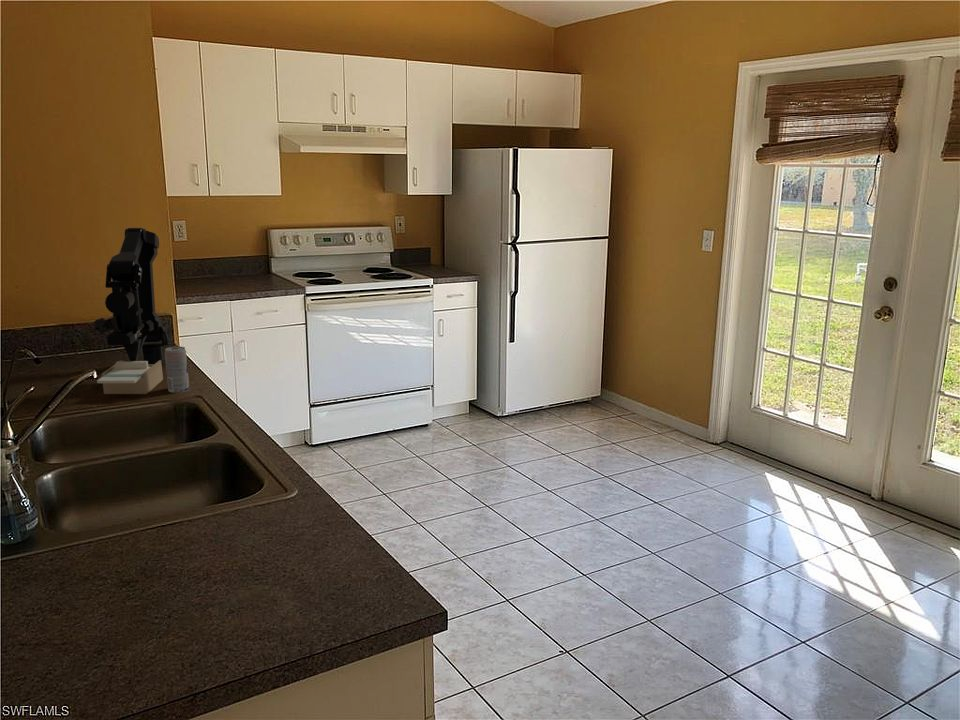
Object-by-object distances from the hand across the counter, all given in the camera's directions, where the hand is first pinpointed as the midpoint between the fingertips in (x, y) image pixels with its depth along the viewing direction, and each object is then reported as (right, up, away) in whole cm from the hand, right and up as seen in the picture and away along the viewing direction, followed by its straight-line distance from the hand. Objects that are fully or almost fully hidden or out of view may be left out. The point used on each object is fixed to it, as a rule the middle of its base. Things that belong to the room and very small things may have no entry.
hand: (133, 362), depth 211 cm
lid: (0, -3, -6) cm, 7 cm away
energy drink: (+13, -8, -1) cm, 15 cm away
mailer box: (0, -7, +1) cm, 7 cm away
